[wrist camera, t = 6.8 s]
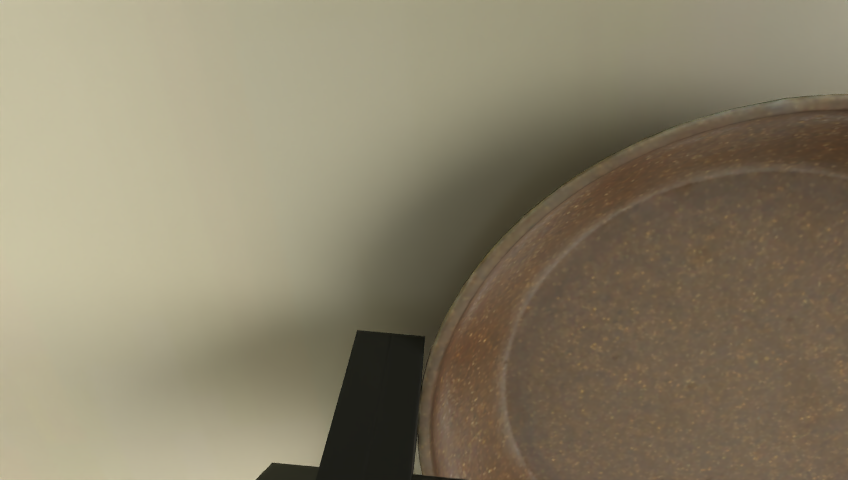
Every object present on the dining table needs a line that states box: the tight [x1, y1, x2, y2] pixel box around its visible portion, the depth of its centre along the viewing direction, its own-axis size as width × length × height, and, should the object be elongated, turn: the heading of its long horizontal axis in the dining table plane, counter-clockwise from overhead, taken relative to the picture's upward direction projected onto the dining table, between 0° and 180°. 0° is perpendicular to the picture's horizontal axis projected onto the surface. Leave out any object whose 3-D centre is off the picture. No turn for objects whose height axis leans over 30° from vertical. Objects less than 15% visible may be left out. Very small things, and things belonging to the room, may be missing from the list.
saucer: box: [417, 94, 848, 480], centre depth 15 cm, size 15×15×3 cm
